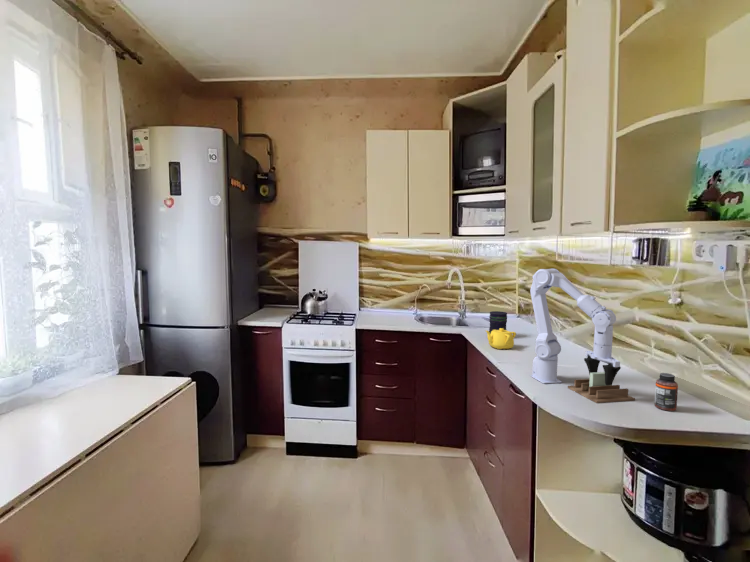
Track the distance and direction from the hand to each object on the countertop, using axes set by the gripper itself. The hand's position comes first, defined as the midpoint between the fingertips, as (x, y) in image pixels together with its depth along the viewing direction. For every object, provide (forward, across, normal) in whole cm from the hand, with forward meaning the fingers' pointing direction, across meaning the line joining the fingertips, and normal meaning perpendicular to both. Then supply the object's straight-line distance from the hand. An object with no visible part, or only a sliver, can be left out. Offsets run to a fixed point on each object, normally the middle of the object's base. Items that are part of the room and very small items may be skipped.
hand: (600, 381), depth 146 cm
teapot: (+5, -69, -2) cm, 69 cm away
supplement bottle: (+5, +15, +12) cm, 20 cm away
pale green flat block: (+4, 0, 0) cm, 4 cm away
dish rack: (+5, 0, 0) cm, 5 cm away
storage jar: (+5, -91, +8) cm, 91 cm away
